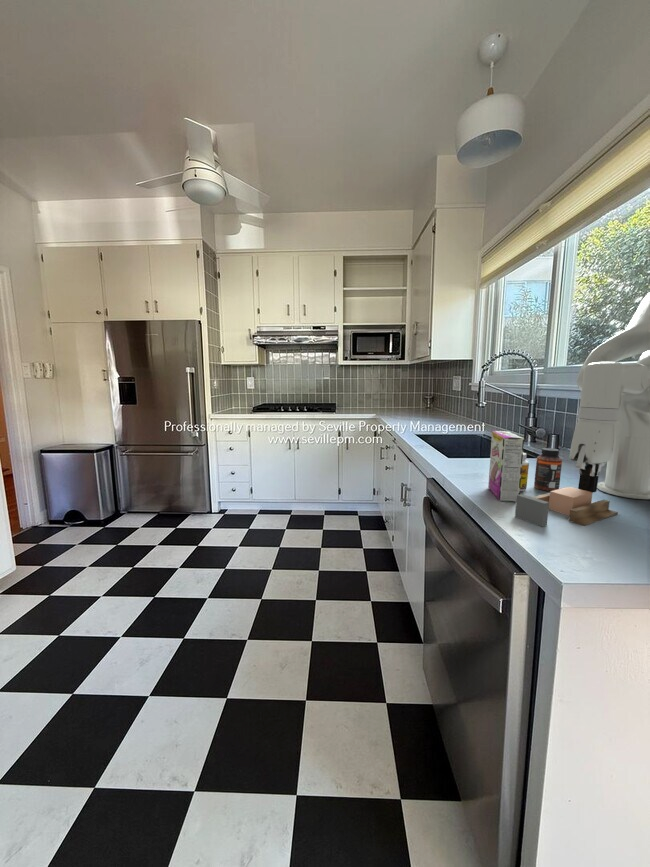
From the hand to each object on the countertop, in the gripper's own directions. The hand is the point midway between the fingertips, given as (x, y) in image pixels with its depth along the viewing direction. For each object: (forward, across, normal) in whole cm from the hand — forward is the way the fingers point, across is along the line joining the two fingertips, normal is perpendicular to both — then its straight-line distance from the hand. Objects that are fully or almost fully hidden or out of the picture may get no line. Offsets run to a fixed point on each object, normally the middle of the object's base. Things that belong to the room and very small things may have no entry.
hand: (587, 490), depth 84 cm
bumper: (+4, +22, 0) cm, 22 cm away
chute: (+4, +7, 0) cm, 8 cm away
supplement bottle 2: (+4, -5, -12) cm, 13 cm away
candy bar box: (+4, +12, -14) cm, 19 cm away
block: (+4, +7, 0) cm, 8 cm away
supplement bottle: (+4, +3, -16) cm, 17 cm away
